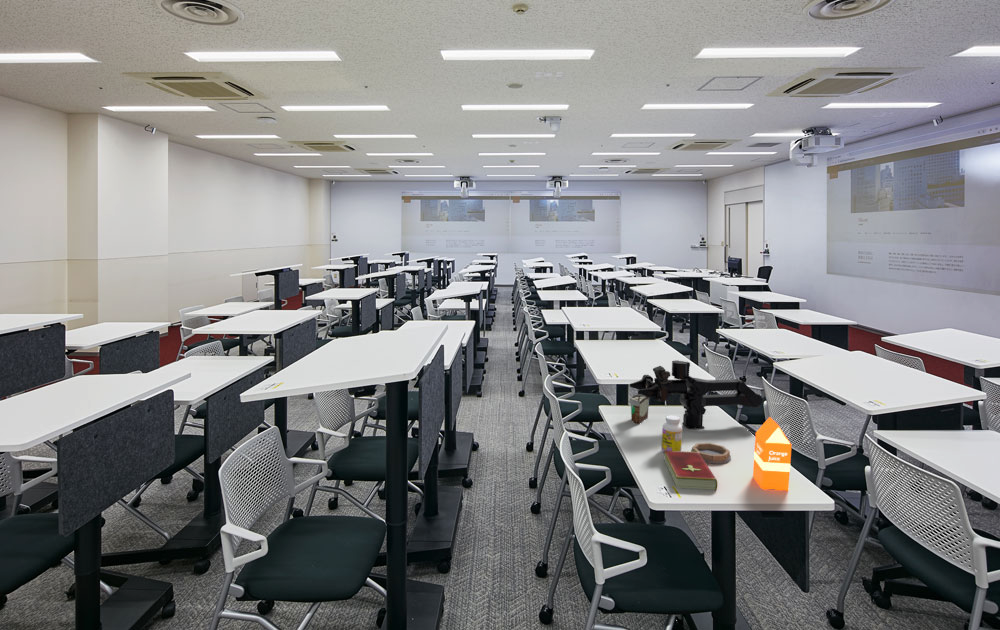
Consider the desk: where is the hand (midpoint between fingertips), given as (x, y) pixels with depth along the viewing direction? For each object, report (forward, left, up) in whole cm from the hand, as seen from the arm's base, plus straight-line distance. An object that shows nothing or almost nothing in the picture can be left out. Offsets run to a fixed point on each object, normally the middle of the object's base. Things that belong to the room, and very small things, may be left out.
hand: (633, 388), depth 211 cm
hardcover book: (-3, +43, -17) cm, 46 cm away
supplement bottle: (-5, +25, -17) cm, 30 cm away
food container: (-5, -10, -17) cm, 20 cm away
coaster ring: (-17, +30, -17) cm, 38 cm away
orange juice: (-25, +52, -17) cm, 60 cm away
